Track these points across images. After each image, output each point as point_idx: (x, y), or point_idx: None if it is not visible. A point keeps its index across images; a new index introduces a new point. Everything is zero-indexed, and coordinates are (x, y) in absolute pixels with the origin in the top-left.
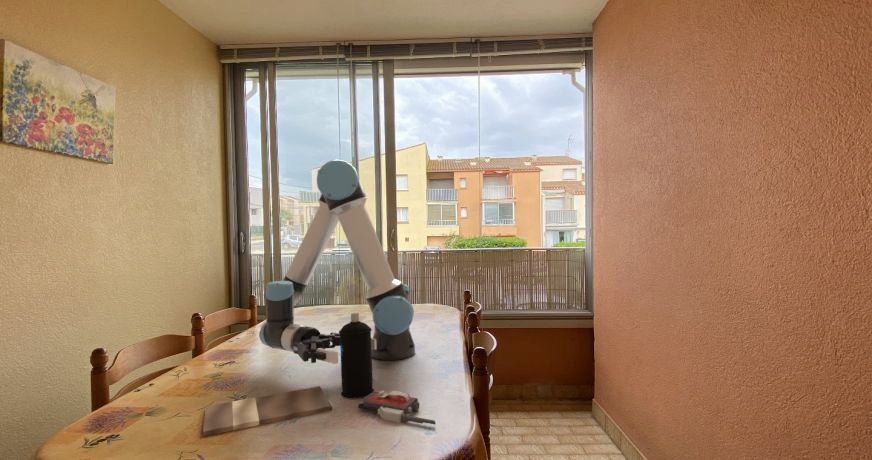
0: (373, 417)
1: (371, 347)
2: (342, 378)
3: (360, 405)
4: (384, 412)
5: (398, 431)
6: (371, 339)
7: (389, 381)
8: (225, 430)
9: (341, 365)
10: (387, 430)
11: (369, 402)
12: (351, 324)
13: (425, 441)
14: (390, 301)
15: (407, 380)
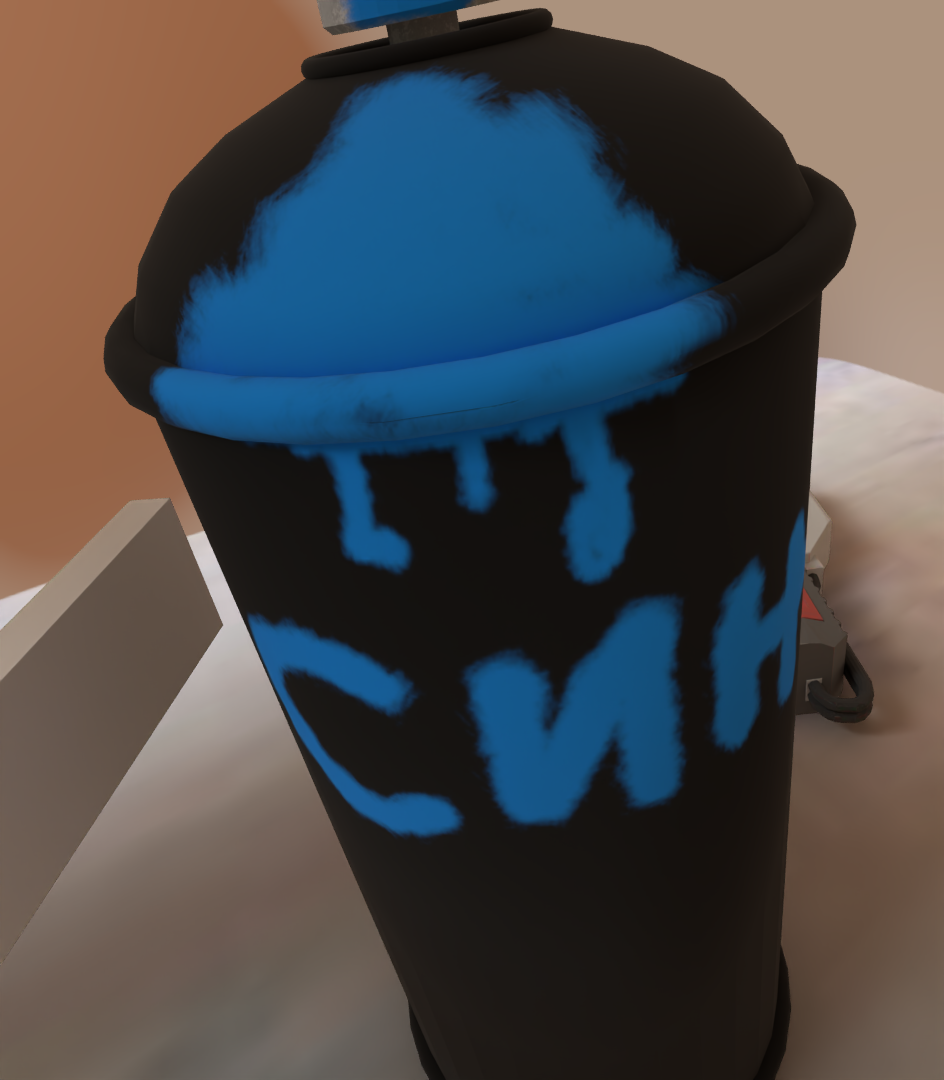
0: (857, 608)
1: (189, 641)
2: (774, 935)
3: (865, 679)
4: (831, 520)
5: (864, 475)
6: (141, 534)
7: (191, 891)
8: None
9: (768, 845)
10: (902, 501)
11: (824, 606)
12: (591, 35)
13: (839, 404)
14: None
15: (153, 779)
